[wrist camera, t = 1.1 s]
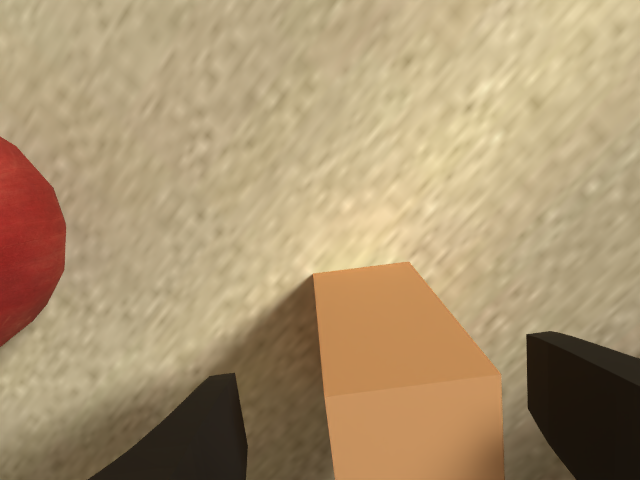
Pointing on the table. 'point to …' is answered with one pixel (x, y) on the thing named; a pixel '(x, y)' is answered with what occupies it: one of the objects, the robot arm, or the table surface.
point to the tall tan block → (404, 381)
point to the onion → (27, 241)
